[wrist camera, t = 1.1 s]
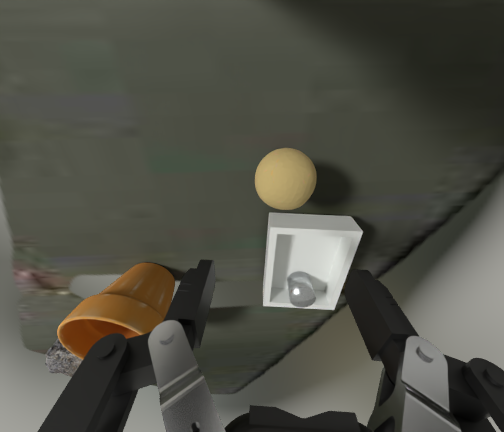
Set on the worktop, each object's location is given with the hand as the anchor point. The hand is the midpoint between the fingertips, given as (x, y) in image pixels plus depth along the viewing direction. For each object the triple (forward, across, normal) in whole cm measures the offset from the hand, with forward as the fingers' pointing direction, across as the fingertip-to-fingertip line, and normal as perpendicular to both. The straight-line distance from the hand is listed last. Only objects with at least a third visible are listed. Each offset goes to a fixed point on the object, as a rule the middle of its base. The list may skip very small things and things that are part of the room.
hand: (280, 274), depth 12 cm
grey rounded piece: (+16, -7, +18) cm, 25 cm away
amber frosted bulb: (+19, -1, -2) cm, 19 cm away
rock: (+19, +45, +51) cm, 70 cm away
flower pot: (+19, +21, +23) cm, 36 cm away
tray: (+18, -6, +13) cm, 24 cm away
